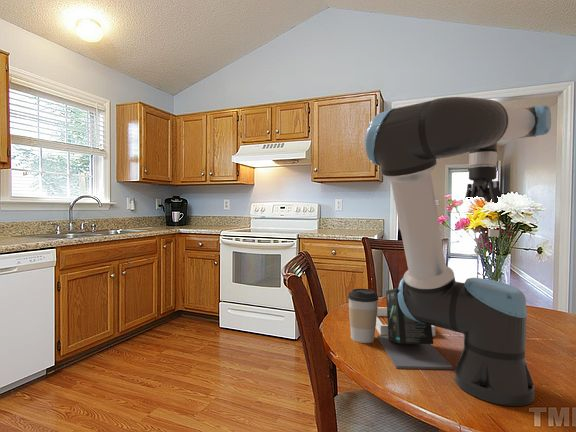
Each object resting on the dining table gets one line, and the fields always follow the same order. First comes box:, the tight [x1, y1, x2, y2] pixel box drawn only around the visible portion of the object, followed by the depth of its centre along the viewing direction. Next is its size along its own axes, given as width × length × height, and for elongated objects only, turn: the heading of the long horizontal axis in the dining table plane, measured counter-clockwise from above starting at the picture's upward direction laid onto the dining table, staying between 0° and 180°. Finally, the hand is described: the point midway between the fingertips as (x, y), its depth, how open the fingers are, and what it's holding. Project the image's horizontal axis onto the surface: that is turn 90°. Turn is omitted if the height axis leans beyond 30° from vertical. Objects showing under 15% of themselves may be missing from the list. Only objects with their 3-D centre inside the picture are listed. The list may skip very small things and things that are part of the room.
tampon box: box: [385, 287, 434, 345], centre depth 97 cm, size 11×9×15 cm
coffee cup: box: [347, 288, 379, 344], centre depth 103 cm, size 9×9×15 cm
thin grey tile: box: [376, 335, 454, 371], centre depth 94 cm, size 20×14×1 cm
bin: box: [375, 306, 436, 337], centre depth 116 cm, size 20×17×3 cm
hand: (481, 234), depth 106 cm, fingers open, 13 cm apart
